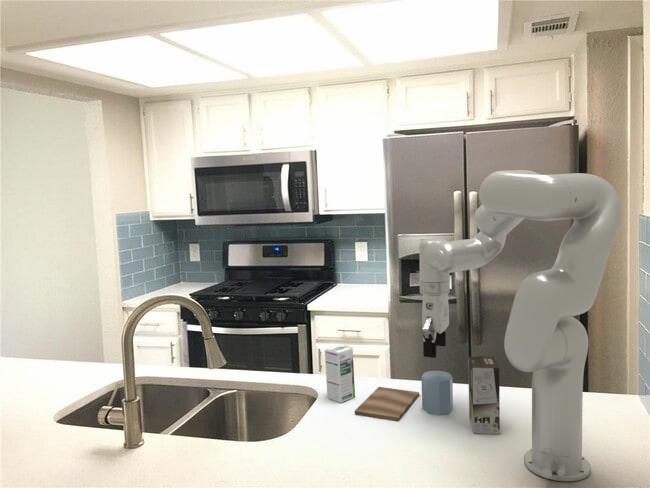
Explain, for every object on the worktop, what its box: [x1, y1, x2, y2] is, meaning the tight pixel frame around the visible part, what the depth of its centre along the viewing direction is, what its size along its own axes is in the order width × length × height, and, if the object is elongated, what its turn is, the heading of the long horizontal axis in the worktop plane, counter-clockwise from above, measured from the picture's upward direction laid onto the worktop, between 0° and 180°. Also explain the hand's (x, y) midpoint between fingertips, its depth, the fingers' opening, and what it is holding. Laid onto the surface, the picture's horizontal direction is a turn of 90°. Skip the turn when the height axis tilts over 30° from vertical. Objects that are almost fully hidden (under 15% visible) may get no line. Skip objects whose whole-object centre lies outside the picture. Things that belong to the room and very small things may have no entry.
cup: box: [421, 370, 454, 416], centre depth 144 cm, size 7×7×9 cm
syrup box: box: [324, 344, 356, 404], centre depth 153 cm, size 6×6×14 cm
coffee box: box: [467, 355, 501, 435], centre depth 132 cm, size 9×6×16 cm
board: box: [354, 386, 420, 422], centre depth 148 cm, size 18×12×1 cm, turn 154°
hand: (434, 351), depth 143 cm, fingers open, 9 cm apart
